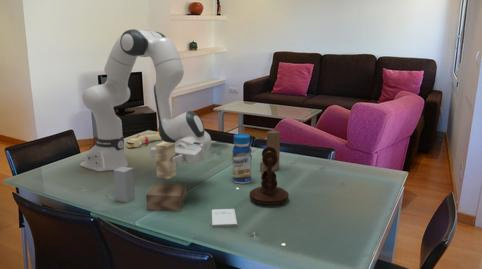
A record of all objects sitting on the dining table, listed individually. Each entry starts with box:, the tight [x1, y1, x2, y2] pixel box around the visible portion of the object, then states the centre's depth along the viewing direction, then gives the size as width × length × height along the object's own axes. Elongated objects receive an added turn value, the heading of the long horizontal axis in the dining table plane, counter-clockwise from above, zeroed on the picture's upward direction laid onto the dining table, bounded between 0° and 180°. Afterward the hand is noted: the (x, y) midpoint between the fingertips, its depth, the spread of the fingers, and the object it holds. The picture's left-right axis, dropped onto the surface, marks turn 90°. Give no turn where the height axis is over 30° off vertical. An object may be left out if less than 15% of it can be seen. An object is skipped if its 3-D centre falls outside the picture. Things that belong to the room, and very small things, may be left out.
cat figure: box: [126, 126, 162, 149], centre depth 240 cm, size 10×9×25 cm
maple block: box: [154, 141, 177, 180], centre depth 154 cm, size 5×5×12 cm
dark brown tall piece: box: [248, 146, 289, 206], centre depth 160 cm, size 15×15×20 cm
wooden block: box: [259, 129, 281, 173], centre depth 194 cm, size 9×4×18 cm, turn 139°
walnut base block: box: [145, 182, 187, 211], centre depth 158 cm, size 12×12×6 cm
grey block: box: [113, 166, 136, 203], centre depth 161 cm, size 5×5×12 cm
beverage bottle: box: [231, 133, 253, 185], centre depth 180 cm, size 8×8×20 cm
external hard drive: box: [211, 208, 238, 229], centre depth 146 cm, size 2×8×12 cm
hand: (164, 159), depth 153 cm, fingers closed on maple block, 5 cm apart
